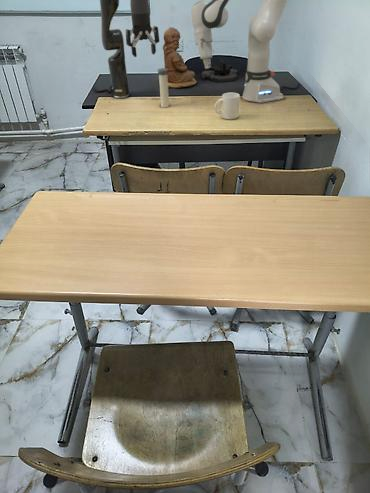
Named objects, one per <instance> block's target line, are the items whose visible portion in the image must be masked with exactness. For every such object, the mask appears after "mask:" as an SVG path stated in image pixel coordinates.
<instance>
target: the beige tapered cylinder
mask: <svg viewBox="0 0 370 493" xmlns="http://www.w3.org/2000/svg"><path fill="white" fill-rule="evenodd" d="M158 79H159V80H158V84H159V83H160V85H159V97H160V107H161V108H169V107H170V96H169V88H168V78H167V75H159V74H158Z"/></svg>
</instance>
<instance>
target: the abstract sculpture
mask: <svg viewBox="0 0 370 493" xmlns="http://www.w3.org/2000/svg"><path fill="white" fill-rule="evenodd" d="M238 75H239V71H238V70H237V68H236V69H233V66H232V64H231V65H230V64H227V63H226V62H225V60H223V59H222V58H221V59H219V60H218V66H216V65H211V68H208V70H204V71H201V80H203V81H206V79H207V80H210V81H211V82H217V83H221V82H223V83H224V82H234V81H235V80H238Z"/></svg>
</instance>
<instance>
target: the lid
mask: <svg viewBox="0 0 370 493" xmlns="http://www.w3.org/2000/svg"><path fill="white" fill-rule="evenodd" d="M157 73H158V76H159V75H167V74H168V69H166V68H165V67H162V68H158V69H157Z"/></svg>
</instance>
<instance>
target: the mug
mask: <svg viewBox="0 0 370 493" xmlns="http://www.w3.org/2000/svg"><path fill="white" fill-rule="evenodd" d="M240 95H241V94H239V93H238V92H225V93H223V94H222V95H221V98H219V99H217V100H216V101H215V103H214V112H215V113H216V114H218V115H221V118H223V119H224V120H235V119H237V118H238V117H239V114H240V113H239V111H240V98H241V97H240ZM220 103H221V110H219V109H218V107H219V106H218V105H220Z"/></svg>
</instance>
